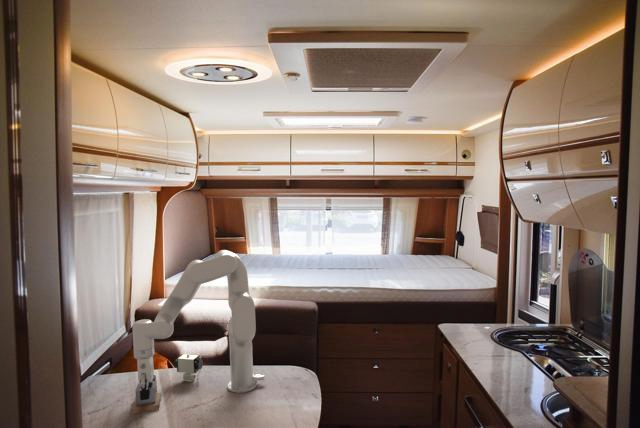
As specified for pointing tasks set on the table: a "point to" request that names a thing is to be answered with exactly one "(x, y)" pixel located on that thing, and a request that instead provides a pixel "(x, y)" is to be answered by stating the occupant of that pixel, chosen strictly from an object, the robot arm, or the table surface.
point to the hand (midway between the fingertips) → (146, 393)
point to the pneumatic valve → (188, 365)
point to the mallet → (147, 407)
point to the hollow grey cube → (152, 394)
